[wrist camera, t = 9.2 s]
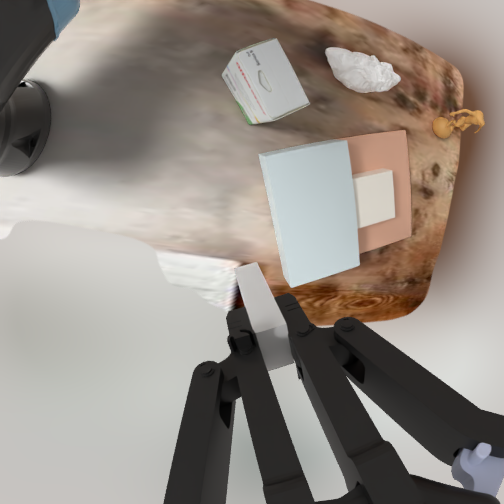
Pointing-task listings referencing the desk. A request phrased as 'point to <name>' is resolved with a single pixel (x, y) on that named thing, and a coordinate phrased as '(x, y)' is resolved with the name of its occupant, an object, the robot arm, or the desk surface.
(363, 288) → the desk surface
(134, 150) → the desk surface
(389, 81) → the white tied bag
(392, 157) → the mat
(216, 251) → the desk surface
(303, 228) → the plate
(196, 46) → the desk surface
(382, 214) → the coaster
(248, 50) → the ink box
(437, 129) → the figurine
